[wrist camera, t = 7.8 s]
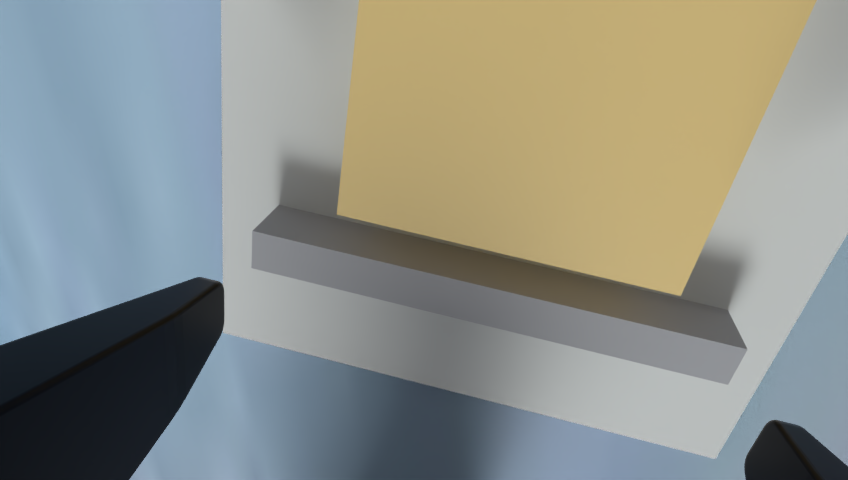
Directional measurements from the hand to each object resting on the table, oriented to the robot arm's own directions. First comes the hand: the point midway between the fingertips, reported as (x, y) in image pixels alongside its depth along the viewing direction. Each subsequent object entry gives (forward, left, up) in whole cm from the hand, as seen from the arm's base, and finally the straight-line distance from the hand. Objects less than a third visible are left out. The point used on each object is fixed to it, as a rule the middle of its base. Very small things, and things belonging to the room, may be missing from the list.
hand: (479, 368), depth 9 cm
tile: (0, -1, -4) cm, 4 cm away
